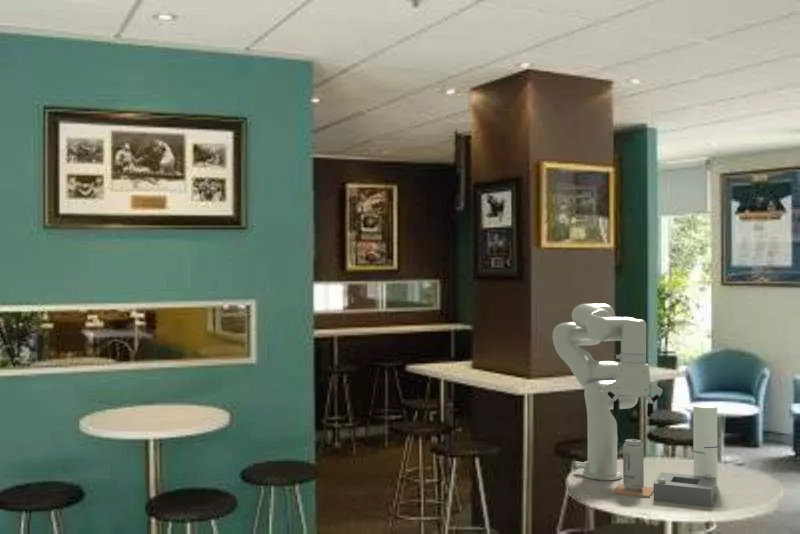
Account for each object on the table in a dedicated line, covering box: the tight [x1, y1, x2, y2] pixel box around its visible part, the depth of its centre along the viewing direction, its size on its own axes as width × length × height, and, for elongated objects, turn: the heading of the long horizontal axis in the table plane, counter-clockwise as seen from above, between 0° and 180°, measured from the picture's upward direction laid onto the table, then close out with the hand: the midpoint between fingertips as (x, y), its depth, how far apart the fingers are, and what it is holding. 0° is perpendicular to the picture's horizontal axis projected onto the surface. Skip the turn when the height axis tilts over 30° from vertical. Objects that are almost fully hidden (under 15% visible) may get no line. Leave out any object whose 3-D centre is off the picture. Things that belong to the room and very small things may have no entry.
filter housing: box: [653, 472, 717, 508], centre depth 251 cm, size 16×16×6 cm
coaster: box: [611, 483, 654, 499], centre depth 257 cm, size 11×11×1 cm
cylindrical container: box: [692, 404, 719, 488], centre depth 265 cm, size 7×7×25 cm
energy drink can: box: [622, 438, 645, 492], centre depth 257 cm, size 6×6×15 cm
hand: (633, 414), depth 258 cm, fingers open, 9 cm apart
